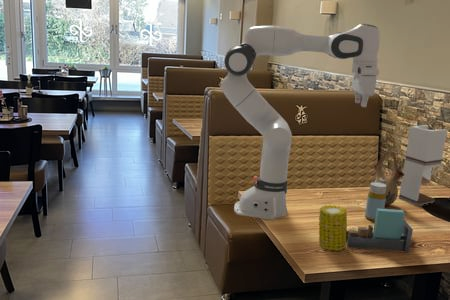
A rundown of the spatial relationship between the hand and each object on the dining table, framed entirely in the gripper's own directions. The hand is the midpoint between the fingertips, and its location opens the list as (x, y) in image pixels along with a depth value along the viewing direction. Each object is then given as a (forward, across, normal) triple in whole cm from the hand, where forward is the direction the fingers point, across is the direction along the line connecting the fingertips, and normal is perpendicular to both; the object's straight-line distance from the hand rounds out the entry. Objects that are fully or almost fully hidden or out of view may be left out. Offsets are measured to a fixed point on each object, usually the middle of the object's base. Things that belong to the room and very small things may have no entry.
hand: (360, 104), depth 168 cm
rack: (+47, +25, +4) cm, 54 cm away
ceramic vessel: (+48, -19, +20) cm, 55 cm away
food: (+47, +28, -12) cm, 56 cm away
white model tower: (+49, -27, +38) cm, 67 cm away
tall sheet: (+47, +25, +7) cm, 54 cm away
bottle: (+48, -1, +10) cm, 49 cm away
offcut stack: (+47, +25, -2) cm, 53 cm away
